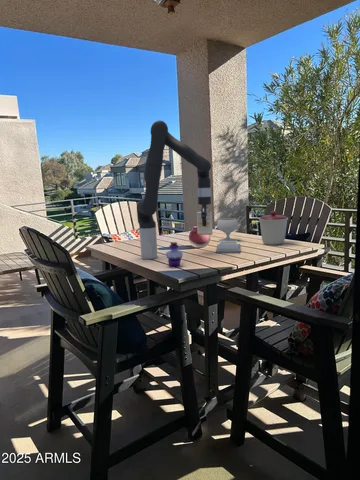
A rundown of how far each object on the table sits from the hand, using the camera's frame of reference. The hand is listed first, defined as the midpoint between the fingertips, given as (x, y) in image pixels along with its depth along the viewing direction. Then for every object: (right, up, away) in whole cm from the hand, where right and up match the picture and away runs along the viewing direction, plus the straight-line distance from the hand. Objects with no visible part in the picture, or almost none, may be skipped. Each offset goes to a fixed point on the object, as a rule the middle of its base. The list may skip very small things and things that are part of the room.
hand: (204, 225), depth 202 cm
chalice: (+19, -9, +38) cm, 43 cm away
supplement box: (0, -5, +1) cm, 5 cm away
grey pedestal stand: (+15, -14, +10) cm, 23 cm away
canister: (+45, -11, +22) cm, 51 cm away
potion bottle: (-17, -22, -25) cm, 37 cm away
